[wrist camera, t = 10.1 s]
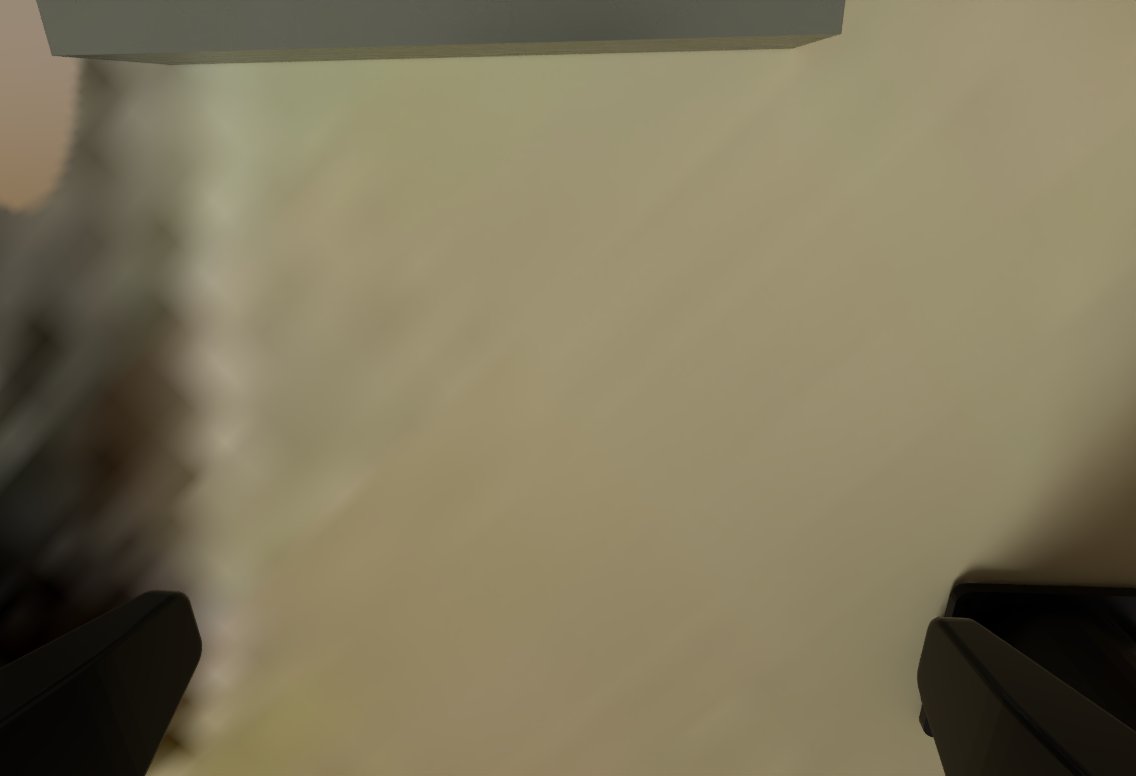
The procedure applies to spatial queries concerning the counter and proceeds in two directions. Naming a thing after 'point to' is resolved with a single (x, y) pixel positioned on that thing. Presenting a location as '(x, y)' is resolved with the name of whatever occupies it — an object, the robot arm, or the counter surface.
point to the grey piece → (422, 28)
